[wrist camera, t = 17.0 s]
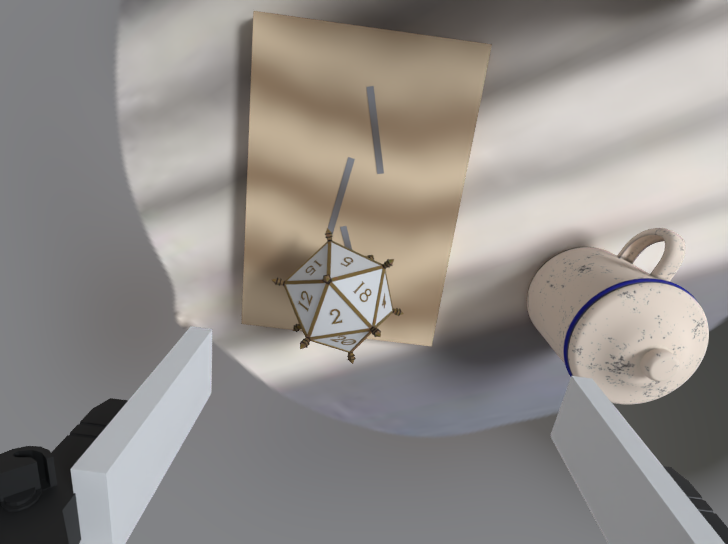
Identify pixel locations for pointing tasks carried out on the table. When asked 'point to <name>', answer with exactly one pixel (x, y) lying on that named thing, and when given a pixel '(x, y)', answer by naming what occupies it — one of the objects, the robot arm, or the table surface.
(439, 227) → the board
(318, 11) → the table surface
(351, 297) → the game die
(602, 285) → the teacup with lid
